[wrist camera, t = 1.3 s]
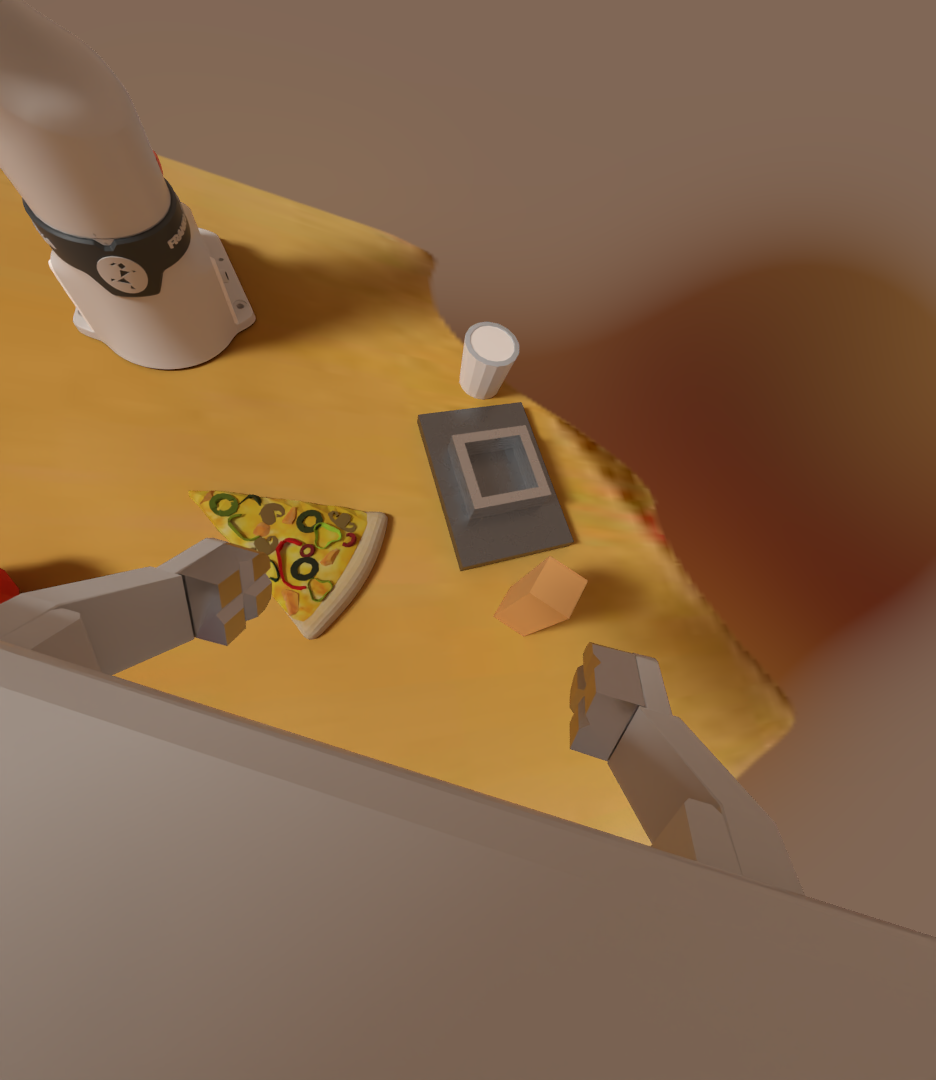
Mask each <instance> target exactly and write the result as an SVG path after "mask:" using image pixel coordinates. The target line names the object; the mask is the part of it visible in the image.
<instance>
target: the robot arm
mask: <svg viewBox="0 0 936 1080" xmlns="http://www.w3.org/2000/svg"><path fill="white" fill-rule="evenodd" d="M0 168H1V169H2V171H3V172H4V173H5V175H6V176H7V177H8V179H9V180H10V181H11V183H12V184H13V185H14V187H15V188H16V189H17V191H18V192H19V194H20V195H21V196H22V200H23V205H24V207H25V210H26V212H27V213H28V215H29V216H30V218H31V219H32V221H33V224H34V225H35V228H36V229H37V230H38V232H39V233H40V235H41V236H42V237H43V239H44V240H45V241H46V242H47V243H48V244H49V245H50V247H51V248H52V249H53V250H52V252H51V260H49V261H48V262H49V266H50V268H51V270H52V272H53V273H54V275H55V276H56V278H57V279H58V281H59V282H60V284H61V285H62V287H63V288H64V290H65V291H66V293H67V294H68V296H69V297H70V299H71V300H72V302H73V303H74V305H75V306H76V309H75V313H74V317H73V322H74V324H75V326H76V327H77V329H78V330H79V331H80V332H81V333H83V334H85V335H87V336H89V337H92V338H95V339H98V340H100V341H102V342H104V343H105V344H106V345H108V346H109V347H110V348H111V349H112V350H113V351H114V352H115V353H117V354H118V355H119V356H121V357H122V358H124V359H126V360H128V361H130V362H132V363H135V364H138V365H141V366H145V367H149V368H156V369H180V368H186V367H191V366H195V365H198V364H201V363H203V362H206V361H208V360H210V359H212V358H213V357H215V356H216V355H218V354H219V353H221V352H222V351H223V350H224V349H225V348H226V347H227V346H228V345H229V343H230V342H231V340H232V339H233V338H234V336H235V335H236V334H237V333H238V332H240V331H242V330H244V329H246V328H247V327H249V326H250V325H252V324H253V323H254V322H255V320H256V317H255V314H254V312H253V310H252V308H251V306H250V303H249V301H248V299H247V297H246V295H245V292H244V290H243V288H242V286H241V284H240V282H239V279H238V277H237V275H236V273H235V271H234V269H233V266H232V264H231V262H230V260H229V258H228V255H227V253H226V251H225V249H224V247H223V245H222V242H221V240H220V238H219V237H218V235H216V234H215V233H213V232H210V231H208V230H205V229H201V228H198V227H197V224H196V222H195V219H194V217H193V214H192V212H191V209H190V208H189V207H188V206H187V205H185V204H184V203H182V202H180V200H179V198H178V196H177V195H176V193H175V192H174V190H173V188H172V187H171V185H170V184H169V183H168V181H167V180H166V179H165V178H164V177H163V171H162V167H161V164H160V161H159V159H158V157H157V154H156V153H155V152H154V151H153V150H152V148H151V145H150V143H149V140H148V138H147V136H146V133H145V131H144V128H143V126H142V124H141V121H140V119H139V116H138V114H137V111H136V109H135V106H134V104H133V102H132V99H131V97H130V95H129V93H128V92H127V90H126V89H125V87H124V86H123V84H122V83H121V81H120V80H119V79H118V77H117V76H116V75H115V74H114V72H113V71H112V70H111V69H110V67H109V66H108V65H107V64H106V63H105V61H104V60H103V59H102V58H101V57H100V56H99V55H98V54H97V53H96V52H95V51H94V50H93V49H92V48H91V47H90V46H89V45H87V44H86V43H85V42H83V41H82V40H81V39H79V38H78V37H77V36H75V35H74V34H72V33H71V32H69V31H68V30H67V29H65V28H63V27H62V26H60V25H59V24H57V23H55V22H54V21H52V20H50V19H49V18H47V17H46V16H44V15H43V14H41V13H40V12H38V11H37V10H35V9H34V8H33V7H31V6H30V5H28V4H27V3H26V2H25V1H23V0H0ZM241 308H242V309H241ZM270 568H271V565H270V557H269V556H268V555H267V554H266V553H263V552H260V551H257V550H253V549H250V548H247V547H243V546H240V545H237V544H233V543H229V542H226V541H222V540H219V539H215V538H205V539H204V540H202V541H200V542H199V543H197V544H195V545H194V546H192V547H190V548H189V549H187V550H185V551H184V552H182V553H180V554H179V555H177V556H175V557H174V558H172V559H170V560H169V561H167V562H165V563H164V564H162V565H160V566H159V567H157V568H154V567H145V568H141V569H136V570H131V571H126V572H121V573H117V574H112V575H107V576H102V577H98V578H93V579H88V580H83V581H79V582H74V583H69V584H64V585H60V586H55V587H50V588H45V589H40V590H36V591H31V592H26V593H21V594H19V595H17V596H15V597H13V598H11V599H9V600H7V601H5V602H3V603H1V604H0V1080H936V937H933V936H930V935H927V934H924V933H921V932H917V931H915V930H911V929H908V928H905V927H902V926H899V925H896V924H892V923H889V922H886V921H883V920H880V919H876V918H873V917H870V916H867V915H864V914H861V913H858V912H855V911H851V910H848V909H845V908H842V907H839V906H836V905H833V904H829V903H826V902H823V901H820V900H817V899H814V898H810V897H807V896H805V894H804V892H803V889H802V887H801V885H800V882H799V880H798V878H797V875H796V872H795V870H794V868H793V865H792V862H791V860H790V858H789V855H788V853H787V850H786V848H785V845H784V843H783V840H782V838H781V836H780V833H779V831H778V828H777V826H776V823H775V822H774V821H773V820H772V819H771V817H770V816H769V815H768V814H767V813H766V812H765V811H764V810H763V809H762V808H761V807H760V805H758V803H757V802H756V801H755V800H754V799H753V798H752V797H751V796H750V794H749V793H748V792H747V791H746V790H745V789H744V788H743V787H742V786H741V785H740V783H739V782H738V781H737V780H736V779H735V778H734V777H733V776H732V775H731V774H730V773H729V771H728V770H727V769H726V768H725V767H724V766H723V765H722V764H721V763H720V762H719V760H718V759H717V758H716V757H715V756H714V755H713V754H712V753H711V752H710V751H709V750H708V748H707V747H706V746H705V745H704V744H703V743H702V742H701V741H700V740H699V739H698V737H697V736H696V735H695V734H694V733H693V732H692V731H691V730H690V729H689V728H688V727H687V725H686V724H685V723H684V722H683V721H682V720H681V719H680V718H679V717H676V716H673V715H672V712H671V708H670V705H669V701H668V697H667V693H666V690H665V686H664V682H663V679H662V675H661V671H660V668H659V664H658V661H657V660H656V659H655V658H651V657H647V656H643V655H639V654H635V653H629V652H625V651H621V650H618V649H614V648H610V647H607V646H603V645H599V644H595V643H592V642H589V643H588V645H587V646H586V648H585V651H584V653H583V665H582V666H580V667H578V668H577V670H576V673H575V675H574V678H573V682H572V686H571V691H570V709H571V710H572V712H573V713H574V714H573V717H572V719H571V721H570V749H572V750H575V751H578V752H581V753H584V754H587V755H590V756H593V757H596V758H599V759H602V760H605V761H608V765H609V767H610V769H611V770H612V772H613V774H614V776H615V778H616V780H617V781H618V783H619V785H620V787H621V789H622V790H623V792H624V794H625V796H626V798H627V799H628V801H629V803H630V805H631V807H632V809H633V810H634V812H635V814H636V816H637V818H638V819H639V821H640V823H641V825H642V827H643V828H644V830H645V832H646V834H647V836H648V838H649V839H650V841H651V843H652V845H651V847H650V846H647V845H644V844H641V843H637V842H634V841H631V840H628V839H625V838H622V837H619V836H615V835H612V834H609V833H606V832H603V831H600V830H597V829H593V828H590V827H587V826H584V825H581V824H578V823H575V822H571V821H568V820H565V819H562V818H559V817H556V816H553V815H549V814H546V813H543V812H540V811H537V810H534V809H531V808H527V807H524V806H521V805H518V804H515V803H512V802H509V801H505V800H502V799H499V798H496V797H493V796H490V795H487V794H483V793H480V792H477V791H474V790H471V789H468V788H464V787H461V786H458V785H455V784H452V783H449V782H446V781H442V780H439V779H436V778H433V777H430V776H427V775H423V774H420V773H417V772H414V771H411V770H408V769H405V768H401V767H398V766H395V765H392V764H389V763H386V762H383V761H379V760H376V759H373V758H370V757H367V756H364V755H360V754H357V753H354V752H351V751H348V750H345V749H342V748H338V747H335V746H332V745H329V744H326V743H323V742H320V741H316V740H313V739H310V738H307V737H304V736H301V735H298V734H294V733H291V732H288V731H285V730H282V729H279V728H276V727H272V726H269V725H266V724H263V723H260V722H257V721H254V720H250V719H247V718H244V717H241V716H238V715H235V714H231V713H228V712H225V711H222V710H219V709H216V708H213V707H209V706H206V705H203V704H200V703H197V702H194V701H191V700H187V699H184V698H181V697H178V696H175V695H172V694H168V693H165V692H162V691H159V690H156V689H153V688H150V687H146V686H143V685H140V684H137V683H134V682H131V681H128V680H124V679H121V678H118V677H115V676H112V675H113V674H116V673H118V672H120V671H123V670H125V669H127V668H129V667H132V666H134V665H136V664H138V663H141V662H143V661H145V660H148V659H150V658H152V657H154V656H157V655H159V654H161V653H163V652H166V651H168V650H170V649H173V648H175V647H177V646H179V645H182V644H184V643H186V642H188V641H191V640H193V639H194V637H196V638H199V639H203V640H207V641H211V642H214V643H218V644H222V645H226V646H228V645H229V644H230V643H231V642H232V641H233V640H234V639H235V638H236V637H237V636H238V635H239V634H240V633H241V632H242V631H243V630H244V629H246V621H247V620H250V619H253V618H256V617H258V616H259V615H260V614H261V613H262V612H263V611H264V610H265V609H266V607H267V605H268V603H269V601H270V599H271V594H272V582H271V580H270V579H269V577H268V576H267V574H266V573H267V571H268V570H269V569H270Z"/></svg>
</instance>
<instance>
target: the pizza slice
mask: <svg viewBox="0 0 936 1080" xmlns="http://www.w3.org/2000/svg"><path fill="white" fill-rule="evenodd" d="M188 492H189V497H190V498H191V499H192V500H193V501H194V502H195V503H196V504H197V505H198V506H199V507H200V508H201V510H202V511H203V512H204V513H205V515H206V516H207V517H208V518H209V520H210V521H211V522H212V523H213V524H214V525H215V527H216V528H217V530H218V531H219V532H220V533H221V534H222V535H223V536H224V537H225V538H226V539H227V540H228V541H229V542H230V543H233V544H237V545H240V546H243V547H247V548H250V549H253V550H257V551H260V552H263V553H266V554H267V555H268V556H269V557H270V565H271V568H270V569H269V570H268V571H267V573H266V574H267V576H268V577H269V579H270V580H271V582H272V594H271V595H272V596H273V597H274V599H275V600H276V601H277V602H278V603H279V605H280V606H281V607H282V608H283V610H284V611H285V612H286V613H287V614H288V616H289V617H290V618H291V619H292V621H293V622H294V623H295V624H296V626H297V627H298V629H299V630H300V632H301V633H302V634H303V636H304V637H305V638H307V639H309V640H310V639H315V638H317V637H318V636H320V635H321V634H322V633H323V632H324V631H325V630H326V629H327V628H328V627H329V626H330V625H331V624H332V623H333V622H334V621H335V620H336V619H337V618H338V617H339V615H340V614H341V613H342V612H343V611H344V610H345V609H346V608H347V606H348V605H349V604H350V603H351V602H352V600H353V599H354V597H355V596H356V595H357V593H358V592H359V590H360V589H361V587H362V586H363V584H364V583H365V581H366V579H367V578H368V576H369V574H370V572H371V570H372V568H373V566H374V564H375V562H376V559H377V557H378V554H379V551H380V549H381V546H382V543H383V539H384V536H385V532H386V528H387V520H388V518H387V516H386V515H385V514H384V513H382V512H363V511H358V510H353V509H349V508H345V507H340V506H326V505H318V504H313V503H309V502H303V501H295V500H286V499H273V498H263V497H259V496H256V495H244V494H240V493H235V492H226V491H188Z"/></svg>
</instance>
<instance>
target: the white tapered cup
mask: <svg viewBox="0 0 936 1080" xmlns="http://www.w3.org/2000/svg"><path fill="white" fill-rule="evenodd" d="M518 354H519V343H518V341H517V339H516V337H515V336H514V335H513V334H512V333H511V332H510V331H509V330H508V329H507V328H505V327H503V326H501V325H500V324H496V323H492V322H481V323H477V324H475V325H473V326H471V327H470V328H469V330H468V331H467V333H466V335H465V341H464V349H463V356H462V364H461V371H460V384H461V387H462V389H463V390H464V391H465V392H466V393H467V394H468V395H470V396H472V397H474V398H477V399H489V398H492V397H493V396H495V395H496V394H497V392H498V390H499V388H500V387H501V385H502V383H503V381H504V379H505V378H506V376H507V374H508V372H509V370H510V369H511V367H512V365H513V363H514V361H515V360H516V358H517V356H518Z"/></svg>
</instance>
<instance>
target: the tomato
mask: <svg viewBox="0 0 936 1080" xmlns="http://www.w3.org/2000/svg"><path fill="white" fill-rule="evenodd" d="M17 595H19V588H18V587H17V585H16V584H15V583H14V582H13V581H12V579H11V578H10V577H9V575H8V574H7V573H6V572H5V570H3V569H1V568H0V604H1V603H3V602H5V601H7V600H9V599H11V598H13V597H15V596H17Z"/></svg>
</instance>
